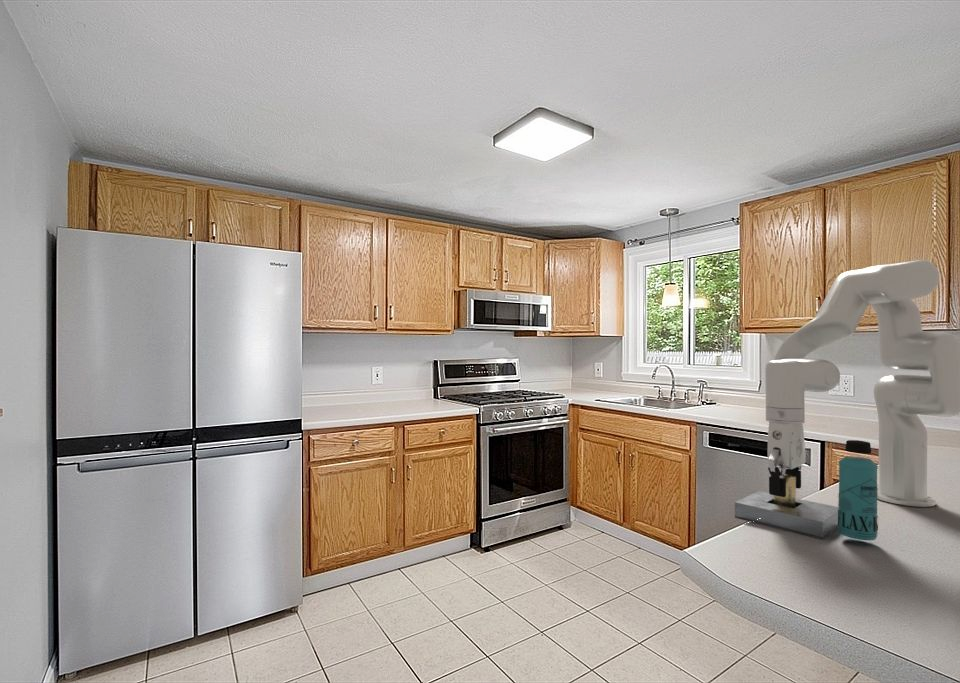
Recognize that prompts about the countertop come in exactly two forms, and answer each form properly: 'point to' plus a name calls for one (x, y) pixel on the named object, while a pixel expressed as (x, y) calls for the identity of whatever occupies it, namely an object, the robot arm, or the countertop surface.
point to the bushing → (788, 493)
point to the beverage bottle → (858, 493)
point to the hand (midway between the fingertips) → (785, 491)
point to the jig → (788, 515)
